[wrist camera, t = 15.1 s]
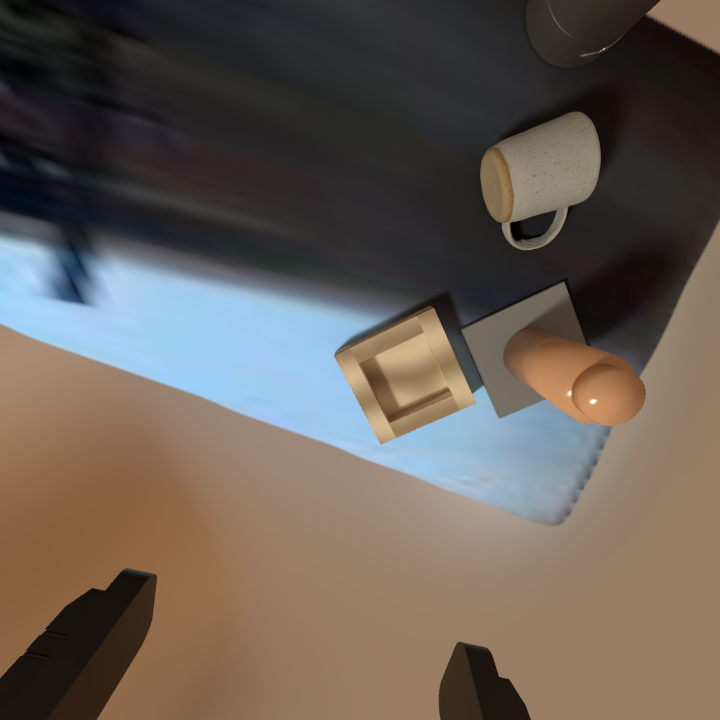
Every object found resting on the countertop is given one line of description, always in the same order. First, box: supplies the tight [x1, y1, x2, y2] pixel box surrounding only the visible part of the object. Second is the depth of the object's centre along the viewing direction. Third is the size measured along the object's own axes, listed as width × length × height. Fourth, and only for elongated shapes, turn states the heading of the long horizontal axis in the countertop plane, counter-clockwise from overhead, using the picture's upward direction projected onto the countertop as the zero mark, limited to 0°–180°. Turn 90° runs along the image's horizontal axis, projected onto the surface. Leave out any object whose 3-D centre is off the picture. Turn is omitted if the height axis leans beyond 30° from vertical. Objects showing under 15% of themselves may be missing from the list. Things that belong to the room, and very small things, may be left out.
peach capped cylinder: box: [503, 328, 646, 426], centre depth 33 cm, size 7×6×14 cm
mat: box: [460, 282, 586, 418], centre depth 40 cm, size 12×12×1 cm
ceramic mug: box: [480, 112, 601, 250], centre depth 33 cm, size 11×8×8 cm
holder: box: [334, 306, 476, 444], centre depth 40 cm, size 12×12×2 cm
